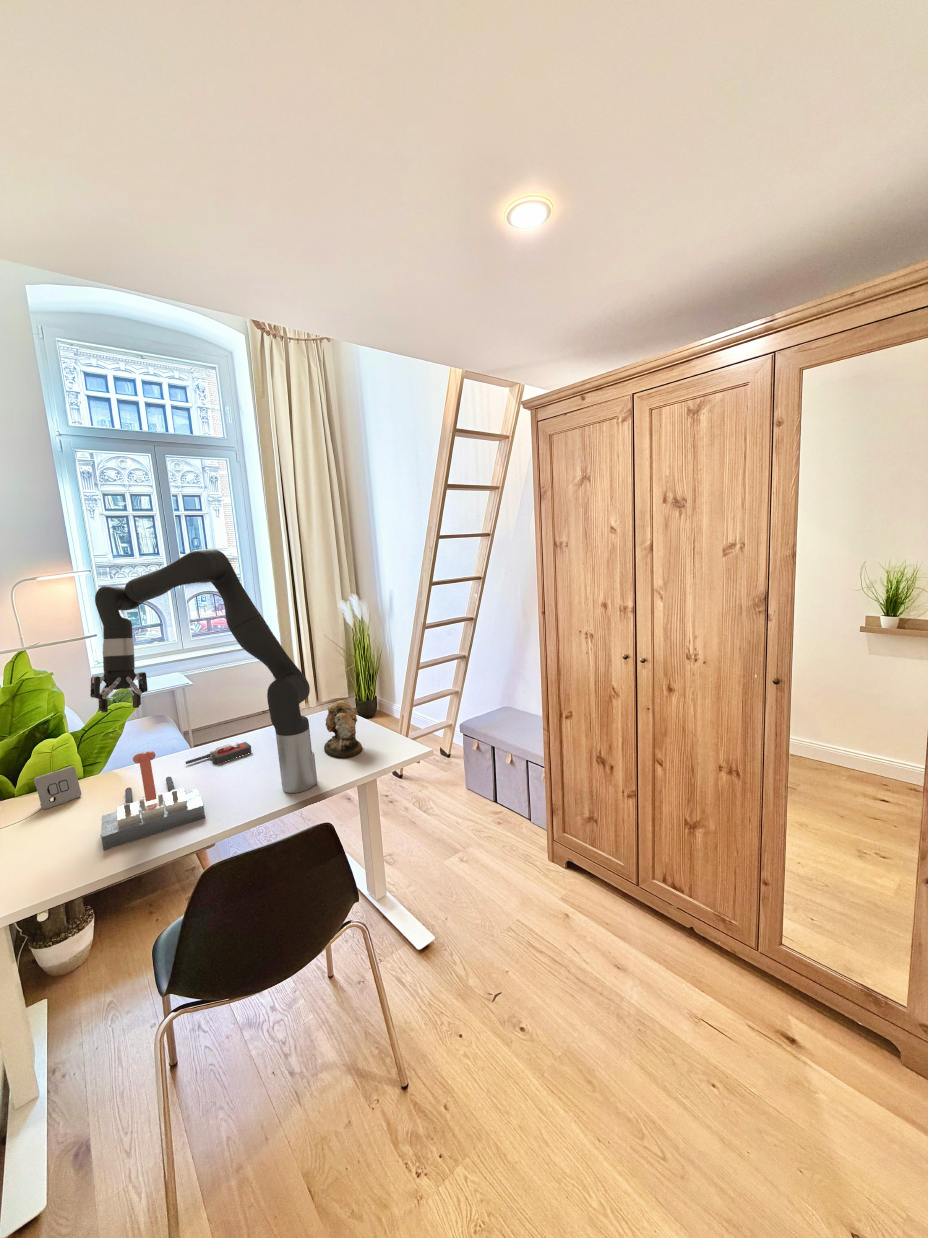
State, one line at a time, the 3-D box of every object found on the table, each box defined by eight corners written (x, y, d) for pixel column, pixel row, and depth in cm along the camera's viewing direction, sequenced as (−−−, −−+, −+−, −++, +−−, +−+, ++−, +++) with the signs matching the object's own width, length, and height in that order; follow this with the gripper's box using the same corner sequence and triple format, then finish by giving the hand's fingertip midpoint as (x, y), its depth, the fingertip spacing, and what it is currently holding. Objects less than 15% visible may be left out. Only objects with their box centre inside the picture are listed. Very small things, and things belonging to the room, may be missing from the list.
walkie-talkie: (246, 746, 179) (185, 766, 166) (244, 734, 179) (183, 753, 165) (256, 753, 173) (193, 773, 160) (254, 741, 172) (191, 760, 159)
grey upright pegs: (173, 779, 155) (172, 771, 155) (180, 805, 139) (179, 796, 139) (123, 793, 148) (122, 785, 148) (125, 822, 132) (123, 813, 132)
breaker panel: (198, 799, 142) (194, 773, 141) (205, 817, 132) (201, 789, 131) (104, 828, 130) (99, 800, 128) (103, 850, 120) (97, 820, 119)
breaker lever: (162, 795, 132) (154, 749, 132) (162, 797, 130) (154, 750, 130) (139, 802, 129) (132, 754, 130) (140, 804, 127) (132, 756, 128)
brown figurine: (315, 746, 175) (311, 699, 173) (347, 737, 182) (343, 692, 180) (337, 762, 161) (332, 711, 159) (370, 751, 168) (366, 703, 166)
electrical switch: (42, 811, 140) (35, 779, 139) (38, 807, 144) (31, 776, 143) (82, 797, 148) (76, 766, 147) (77, 793, 151) (71, 764, 150)
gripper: (98, 655, 138) (100, 714, 138) (151, 652, 151) (153, 706, 150) (84, 656, 142) (86, 713, 141) (137, 653, 154) (138, 706, 154)
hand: (120, 710), depth 146 cm, fingers open, 8 cm apart
